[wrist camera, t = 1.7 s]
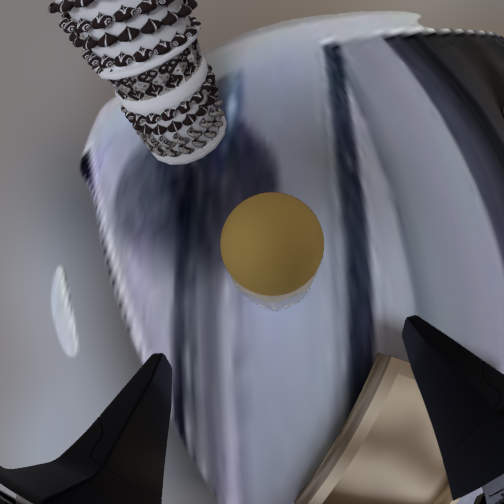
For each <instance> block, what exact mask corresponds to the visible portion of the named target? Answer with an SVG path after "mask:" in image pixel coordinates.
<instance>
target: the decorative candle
mask: <svg viewBox="0 0 504 504" xmlns="http://www.w3.org/2000/svg"><path fill="white" fill-rule="evenodd" d="M55 1H56V3H54V2H53V3H52V4H50V6H49V7H48V11H49V13H55V12H60V13H63V14H62V19H61V21H60V22H59V26H60V27H61V28H63V30H64V32H66V33H71V34H70V36H69V39H70V41H73V45H74V46H75V47H81V46H82V47H83V48H84V49H85V50H84V52H83V55H82V56H83V58H84V59H88V64H89V65H90V66H92V69H95V71H96V73H97V74H98V75H99V76H100V77H101V78H102V79H108V80H109V82H110V83H111V84H112V86H113V87H114V88H115V95H116V96H117V98H118V99H119V101H120V102H121V104H122V106H121V110H122V112H124V113H125V116H126V118H127V119H129V122H130V123H133V128H134V129H135V130H136V132H137V134H138V135H139V136H140V139H141V140H142V141H143V142H144V144H146V146H147V148H148V150H149V151H151V153H152V154H153V155H154V156H155V157H156V159H157V160H159V161H161V162H164V163H167V164H170V165H177V164H188V163H191V162H193V161H196V160H199V159H201V158H203V157H205V156H206V155H207V154H209V153H210V152H211V151H213V150H214V149H215V148H216V147H217V146H218V144H219V143H220V141H221V140H222V139H223V137H224V136H225V130H226V125H227V122H226V119H225V117H224V115H225V112H224V111H222V110H221V109H219V107H221V106H222V101H221V100H216V97H217V96H219V92H218V87H217V86H216V85H214V84H215V75H214V74H213V73H212V72H211V71H212V67H211V66H210V65H209V64H207V63H206V60H205V57H204V54H203V52H202V50H201V49H200V47H199V44H198V40H197V35H198V33H199V31H200V26H199V25H200V24H201V23H200V22H198V21H197V20H196V18H195V17H192V16H189V14H190V13H191V12H192V10H193V9H195V7H197V2H196V1H195V0H55ZM57 2H58V3H57ZM59 3H60V4H59ZM71 18H72V19H73V21H74V22H73V21H71V20H70V19H71ZM79 33H81V34H82V36H83V37H84V39H85V40H84V39H82V38H81V37H80V34H79ZM93 53H94V54H93Z"/></svg>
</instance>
